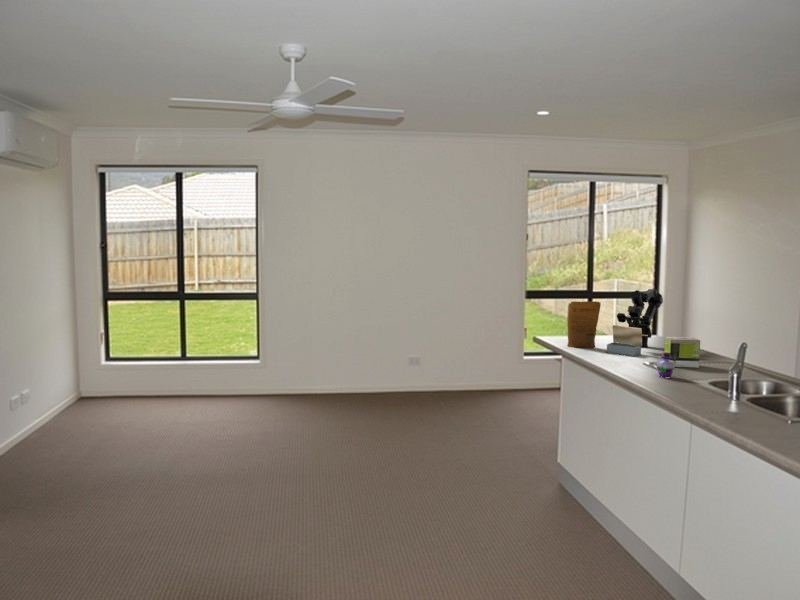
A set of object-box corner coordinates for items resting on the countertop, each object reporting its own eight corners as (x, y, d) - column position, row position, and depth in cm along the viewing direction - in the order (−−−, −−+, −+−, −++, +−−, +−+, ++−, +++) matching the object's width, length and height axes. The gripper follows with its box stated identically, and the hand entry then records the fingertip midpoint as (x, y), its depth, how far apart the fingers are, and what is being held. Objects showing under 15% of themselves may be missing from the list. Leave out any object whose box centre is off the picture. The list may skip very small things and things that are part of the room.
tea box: (692, 364, 337) (694, 336, 336) (699, 368, 328) (701, 340, 326) (663, 363, 339) (665, 335, 337) (669, 367, 329) (671, 339, 327)
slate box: (613, 350, 371) (613, 342, 370) (640, 354, 361) (641, 345, 360) (606, 352, 363) (607, 344, 363) (634, 357, 353) (635, 348, 353)
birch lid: (613, 342, 370) (613, 341, 371) (641, 345, 360) (642, 345, 361) (612, 325, 367) (612, 325, 368) (641, 329, 357) (641, 328, 357)
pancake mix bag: (599, 349, 374) (601, 302, 371) (566, 347, 377) (568, 301, 373) (596, 347, 381) (599, 301, 378) (564, 345, 383) (567, 299, 380)
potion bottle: (655, 378, 303) (657, 353, 301) (654, 374, 311) (656, 350, 309) (675, 379, 300) (676, 355, 298) (674, 376, 308) (675, 351, 306)
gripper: (618, 299, 374) (610, 319, 367) (651, 302, 363) (643, 323, 355) (622, 311, 381) (614, 331, 374) (654, 314, 369) (646, 335, 362)
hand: (629, 330), depth 366 cm, fingers closed
